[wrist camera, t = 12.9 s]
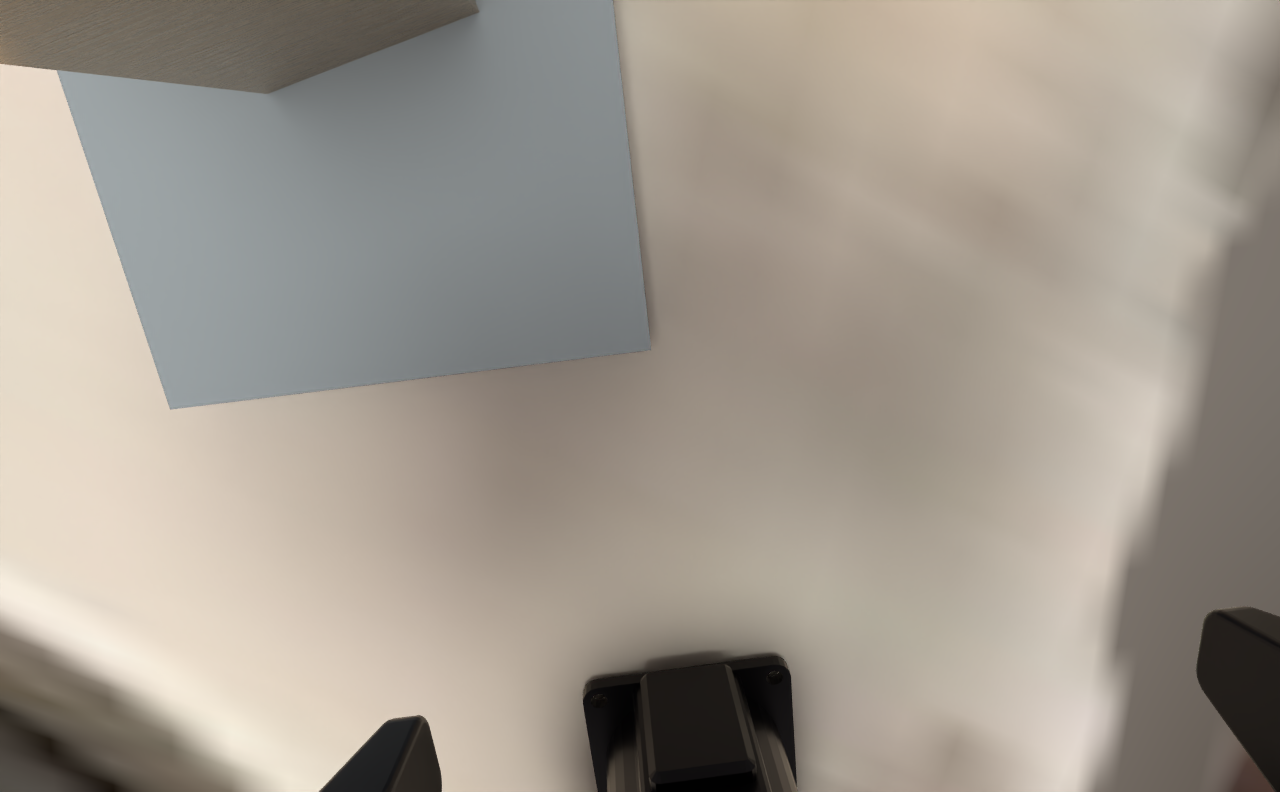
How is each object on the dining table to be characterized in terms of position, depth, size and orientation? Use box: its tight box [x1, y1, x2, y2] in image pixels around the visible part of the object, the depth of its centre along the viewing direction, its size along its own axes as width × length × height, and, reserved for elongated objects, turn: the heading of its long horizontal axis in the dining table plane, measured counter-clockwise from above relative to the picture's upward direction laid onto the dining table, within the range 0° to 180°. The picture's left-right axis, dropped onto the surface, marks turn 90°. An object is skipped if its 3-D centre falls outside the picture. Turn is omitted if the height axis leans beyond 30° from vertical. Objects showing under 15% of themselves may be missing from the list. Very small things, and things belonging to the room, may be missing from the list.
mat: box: [57, 0, 651, 409], centre depth 18 cm, size 14×12×2 cm
